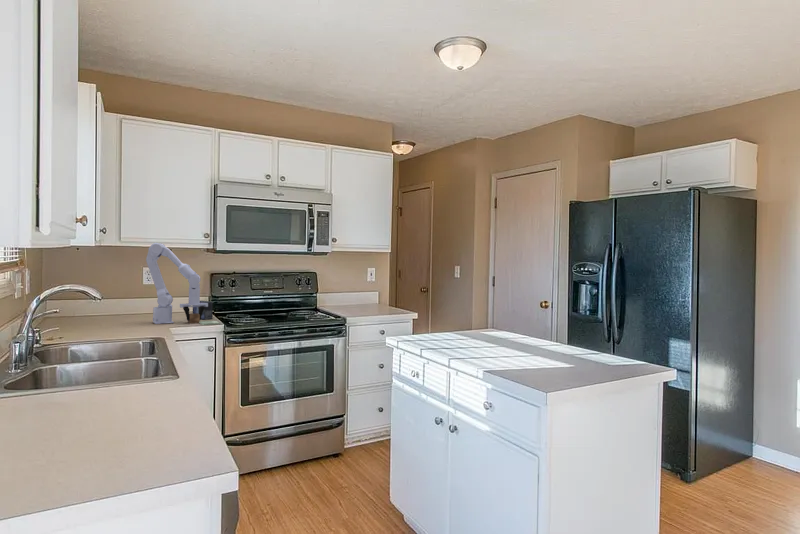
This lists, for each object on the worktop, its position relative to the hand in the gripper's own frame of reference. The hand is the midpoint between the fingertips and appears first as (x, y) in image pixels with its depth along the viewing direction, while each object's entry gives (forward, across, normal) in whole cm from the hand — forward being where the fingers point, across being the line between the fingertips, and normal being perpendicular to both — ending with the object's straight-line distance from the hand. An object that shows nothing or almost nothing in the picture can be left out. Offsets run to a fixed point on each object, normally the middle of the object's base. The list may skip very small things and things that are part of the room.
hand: (193, 320), depth 273 cm
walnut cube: (+2, 0, 0) cm, 2 cm away
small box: (+2, +8, +15) cm, 17 cm away
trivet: (+1, +6, -8) cm, 10 cm away
